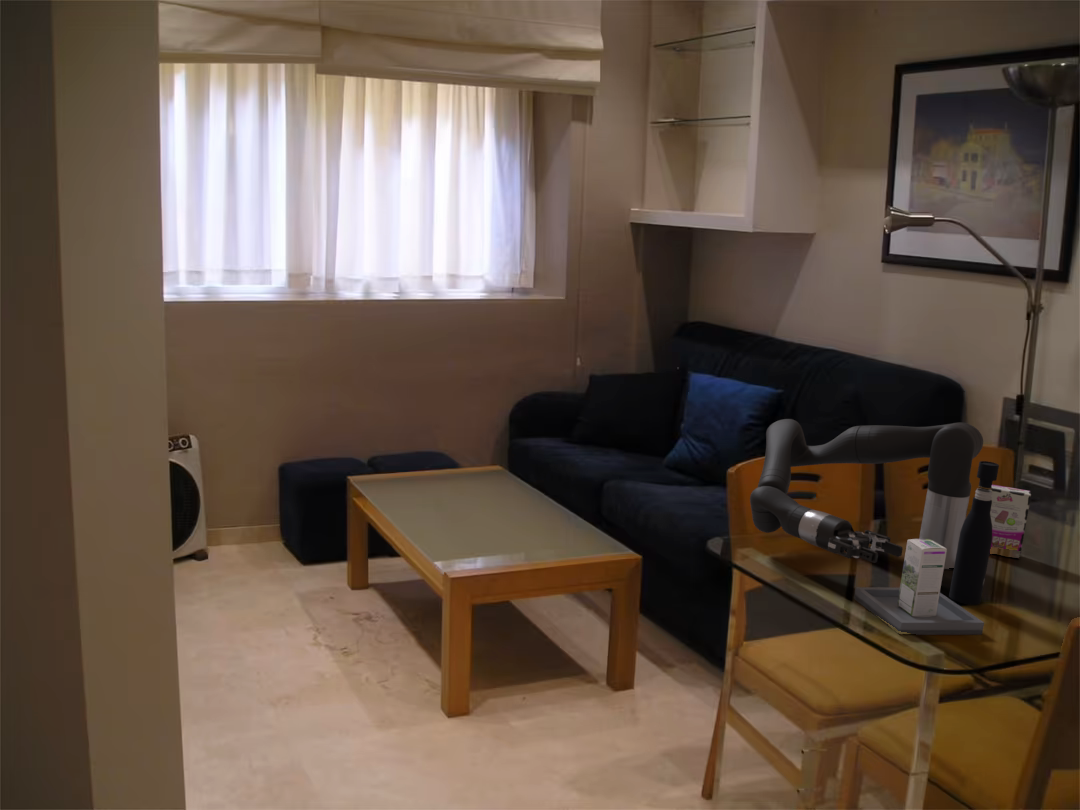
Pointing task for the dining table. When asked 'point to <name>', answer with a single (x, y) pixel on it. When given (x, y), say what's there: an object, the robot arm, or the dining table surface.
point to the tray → (944, 623)
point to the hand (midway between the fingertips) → (889, 555)
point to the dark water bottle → (975, 541)
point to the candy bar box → (1009, 517)
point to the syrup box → (921, 577)
